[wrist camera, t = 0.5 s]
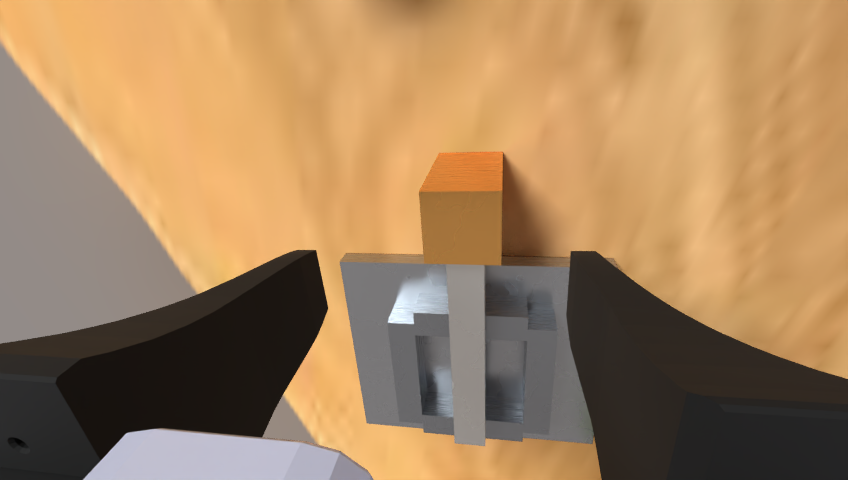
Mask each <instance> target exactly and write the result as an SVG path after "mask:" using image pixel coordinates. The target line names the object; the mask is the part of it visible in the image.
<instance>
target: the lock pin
mask: <svg viewBox="0 0 848 480" xmlns="http://www.w3.org/2000/svg"><path fill="white" fill-rule="evenodd" d="M502 181H503V152H474V153H439V154H438V156H437V158H436V160H435V162H434V164H433V166H432V168H431V170H430V172H429V174H428V175H427V177H426V179H425V181H424V183H423V185H422V187H421V189H420V191H419V198H420V212H421V226H422V239H423V253H424V264H446V271H447V292H448V313H449V333H450V354H451V375H452V396H453V416H454V437H455V443H458V444H469V445H479V446H485V439H486V287H485V265H501V254H502Z"/></svg>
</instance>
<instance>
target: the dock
mask: <svg viewBox="0 0 848 480" xmlns="http://www.w3.org/2000/svg"><path fill="white" fill-rule="evenodd" d="M605 259H606V260H608V261H609V262H610V263H611V264H612V265H614V266H615V267H616V268H618V267H617V265H616V263H615V261H614V259H613V258H605ZM340 266H341V272H342V278H343V284H344V290H345V296H346V302H347V308H348V314H349V320H350V326H351V332H352V337H353V343H354V349H355V355H356V361H357V367H358V373H359V379H360V385H361V391H362V397H363V403H364V409H365V415H366V421H367V423H369V424H380V425H391V426H402V427H413V428H423V429H424V432H425V433H436V434H446V435H454V416H453V396H452V375H451V354H450V333H449V313H448V292H447V271H446V264H424V255H411V254H360V253H346V254H345V255H344V257H343V258H342V259H341V261H340ZM569 270H570V258H563V257H512V256H501V265H485V287H486V438H489V439H500V440H511V441H522V440H523V438H533V439H544V440H555V441H566V442H577V443H588V444H592V443H593V436H594V432H593V428H592V423H591V419H590V415H589V412H588V408H587V405H586V401H585V398H584V394H583V391H582V387H581V383H580V380H579V376H578V373H577V369H576V366H575V362H574V358H573V355H572V351H571V347H570V341H569V334H568V326H567V318H566V311H567V297H568V283H569Z"/></svg>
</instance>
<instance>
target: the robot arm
mask: <svg viewBox="0 0 848 480" xmlns="http://www.w3.org/2000/svg"><path fill="white" fill-rule="evenodd" d="M327 310H328V305H327V300H326V296H325V291H324V286H323V281H322V276H321V272H320V267H319V262H318V257H317V253H316V250H296V251H293V252H290V253H287V254H284V255H282V256H280V257H278V258H275V259H273V260H271V261H269V262H267V263H265V264H263V265H261V266H259V267H257V268H254V269H252V270H250V271H248V272H246V273H244V274H242V275H240V276H238V277H236V278H234V279H231V280H229V281H227V282H225V283H223V284H220V285H218V286H216V287H214V288H211V289H209V290H207V291H205V292H202V293H200V294H197V295H195V296H193V297H190V298H188V299H185V300H182V301H179V302H177V303H174V304H171V305H168V306H165V307H162V308H160V309H156V310H153V311H149V312H146V313H143V314H140V315H136V316H133V317H129V318H126V319H123V320H119V321H115V322H111V323H107V324H103V325H99V326H95V327H90V328H86V329H81V330H77V331H72V332H67V333H62V334H57V335H51V336H45V337H39V338H33V339H27V340H22V341H16V342H9V343H2V344H0V480H373V478H372V476H371V475H370V473H369V472H368V471H367V470H366V469H365V468H363V467H362V466H360V465H359V464H358V463H356V462H355V461H353V460H352V459H351V458H349V457H348V456H346V455H345V454H343V453H342V452H341V451H338V450H335V449H331V448H328V447H324V446H320V445H317V444H313V443H309V442H305V441H295V440H284V439H273V438H262V436H263V434H264V432H265V430H266V428H267V425H268V423H269V421H270V419H271V417H272V414H273V412H274V410H275V408H276V406H277V404H278V403H279V401H280V399H281V397H282V395H283V394H284V392H285V390H286V389H287V387H288V385H289V384H290V382H291V380H292V378H293V377H294V375H295V373H296V372H297V370H298V368H299V367H300V365H301V363H302V362H303V360H304V358H305V357H306V355H307V353H308V351H309V350H310V348H311V346H312V344H313V343H314V341H315V339H316V337H317V335H318V333H319V331H320V328H321V326H322V324H323V321H324V318H325V315H326V313H327ZM566 318H567V326H568V334H569V341H570V347H571V351H572V355H573V358H574V362H575V366H576V369H577V373H578V376H579V380H580V383H581V387H582V391H583V394H584V398H585V401H586V405H587V408H588V412H589V415H590V419H591V423H592V428H593V432H594V436H595V442H596V448H597V454H598V460H599V466H600V472H601V478H602V480H848V379H845V378H842V377H839V376H835V375H832V374H828V373H825V372H821V371H818V370H815V369H812V368H809V367H806V366H803V365H801V364H798V363H795V362H792V361H789V360H786V359H783V358H781V357H778V356H775V355H772V354H770V353H767V352H765V351H762V350H760V349H757V348H754V347H752V346H750V345H747V344H745V343H743V342H740V341H738V340H736V339H734V338H731V337H729V336H727V335H724V334H722V333H720V332H718V331H716V330H714V329H712V328H710V327H708V326H706V325H704V324H702V323H700V322H698V321H696V320H694V319H693V318H691V317H689V316H687V315H685V314H683V313H681V312H680V311H678V310H676V309H675V308H673V307H671V306H670V305H668V304H667V303H665V302H663V301H662V300H660V299H659V298H657V297H656V296H654V295H653V294H651V293H650V292H648V291H647V290H645V289H644V288H643V287H641V286H640V285H638V284H637V283H636V282H634V281H633V280H632V279H630V278H629V277H628V276H626V275H625V274H624V273H623V272H621V271H620V270H619V269H618V268H616V267H615V266H614V265H612V264H611V263H610V262H609V261H608V260H606V259H605V258H604V257H602V256H601V255H600V254H598V253H597V252H596V251H571V256H570V270H569V283H568V297H567V311H566Z"/></svg>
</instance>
